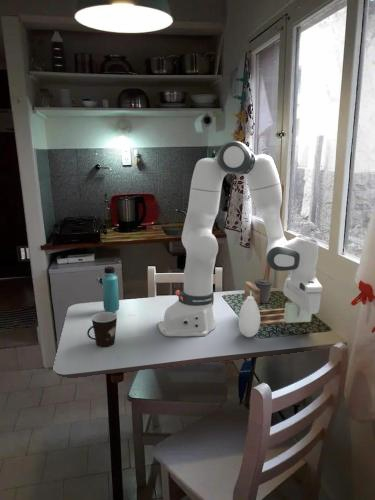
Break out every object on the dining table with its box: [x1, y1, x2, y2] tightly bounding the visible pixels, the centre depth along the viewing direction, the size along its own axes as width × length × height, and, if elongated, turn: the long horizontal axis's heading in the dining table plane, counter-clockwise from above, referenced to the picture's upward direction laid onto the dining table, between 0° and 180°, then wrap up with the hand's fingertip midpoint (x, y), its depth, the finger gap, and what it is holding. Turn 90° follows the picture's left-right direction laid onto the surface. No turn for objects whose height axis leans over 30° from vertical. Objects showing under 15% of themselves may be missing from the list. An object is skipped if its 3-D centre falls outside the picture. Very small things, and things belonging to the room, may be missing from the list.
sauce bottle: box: [238, 291, 261, 338], centre depth 139 cm, size 8×8×18 cm
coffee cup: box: [254, 278, 273, 304], centre depth 173 cm, size 8×8×10 cm
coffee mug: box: [86, 311, 118, 349], centre depth 132 cm, size 12×9×10 cm
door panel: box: [284, 302, 312, 324], centre depth 142 cm, size 10×3×7 cm, turn 103°
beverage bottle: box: [101, 266, 120, 313], centre depth 158 cm, size 6×7×20 cm
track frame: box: [243, 281, 292, 326], centre depth 154 cm, size 22×10×15 cm, turn 104°
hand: (297, 315), depth 143 cm, fingers closed on door panel, 2 cm apart
